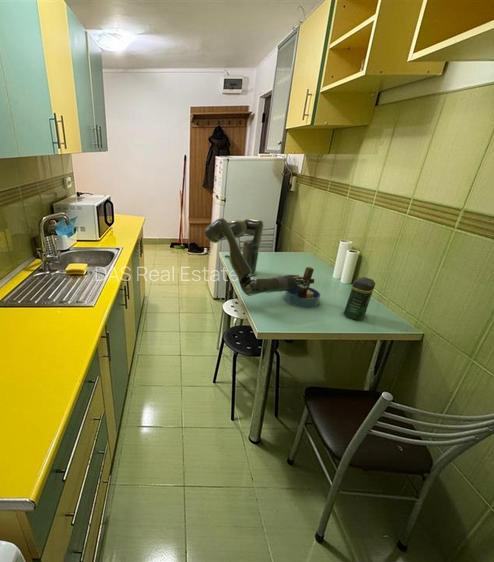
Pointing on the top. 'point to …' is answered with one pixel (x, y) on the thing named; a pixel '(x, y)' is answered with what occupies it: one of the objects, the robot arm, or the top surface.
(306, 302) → the bowl
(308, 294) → the block
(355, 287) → the coffee jar
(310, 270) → the stick
